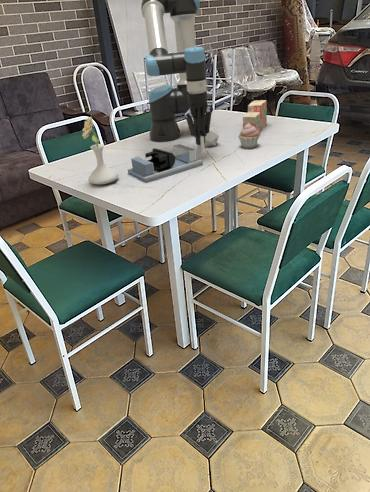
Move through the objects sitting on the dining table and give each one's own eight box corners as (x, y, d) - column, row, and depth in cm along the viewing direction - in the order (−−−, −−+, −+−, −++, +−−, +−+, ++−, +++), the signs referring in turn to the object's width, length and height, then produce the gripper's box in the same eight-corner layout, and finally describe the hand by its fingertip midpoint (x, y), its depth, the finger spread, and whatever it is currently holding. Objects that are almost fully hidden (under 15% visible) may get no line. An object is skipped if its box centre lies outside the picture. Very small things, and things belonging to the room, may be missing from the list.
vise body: (128, 174, 167) (125, 158, 164) (183, 157, 179) (181, 143, 176) (146, 183, 157) (143, 166, 154) (202, 165, 168) (201, 149, 165)
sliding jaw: (174, 157, 175) (173, 145, 172) (185, 154, 177) (184, 142, 175) (190, 163, 167) (188, 151, 164) (201, 160, 169) (200, 147, 167)
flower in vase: (91, 178, 167) (77, 112, 155) (120, 174, 167) (108, 109, 155) (86, 190, 155) (71, 121, 143) (117, 187, 156) (105, 117, 143)
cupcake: (261, 148, 180) (261, 124, 175) (239, 150, 180) (239, 126, 175) (258, 142, 188) (258, 119, 183) (237, 144, 188) (236, 121, 184)
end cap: (176, 167, 165) (174, 150, 161) (162, 173, 161) (160, 155, 157) (160, 163, 171) (158, 146, 168) (146, 168, 168) (144, 151, 164)
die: (213, 150, 186) (223, 130, 184) (195, 141, 185) (205, 121, 184) (212, 151, 194) (222, 132, 192) (195, 143, 193) (205, 123, 192)
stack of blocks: (256, 137, 196) (255, 109, 190) (242, 137, 198) (242, 109, 192) (266, 125, 213) (266, 99, 207) (254, 125, 215) (254, 99, 209)
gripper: (188, 95, 157) (193, 157, 169) (216, 89, 163) (219, 149, 175) (177, 93, 163) (183, 154, 174) (204, 87, 169) (208, 146, 180)
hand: (201, 151), depth 174 cm, fingers closed
